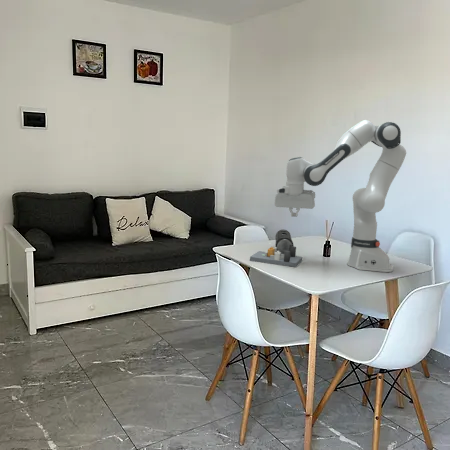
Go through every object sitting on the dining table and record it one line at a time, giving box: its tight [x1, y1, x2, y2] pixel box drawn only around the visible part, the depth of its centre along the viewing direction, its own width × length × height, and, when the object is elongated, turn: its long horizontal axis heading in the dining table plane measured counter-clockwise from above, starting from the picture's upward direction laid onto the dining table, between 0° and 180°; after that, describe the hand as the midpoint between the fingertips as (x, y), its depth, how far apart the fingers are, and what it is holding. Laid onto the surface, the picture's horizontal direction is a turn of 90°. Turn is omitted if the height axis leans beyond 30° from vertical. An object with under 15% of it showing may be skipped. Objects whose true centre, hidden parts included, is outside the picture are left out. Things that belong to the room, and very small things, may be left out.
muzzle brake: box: [274, 229, 295, 254], centre depth 254 cm, size 10×28×10 cm, turn 174°
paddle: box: [267, 246, 275, 256], centre depth 237 cm, size 2×4×4 cm, turn 157°
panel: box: [249, 245, 304, 268], centre depth 236 cm, size 24×14×7 cm, turn 67°
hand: (294, 216), depth 235 cm, fingers closed
